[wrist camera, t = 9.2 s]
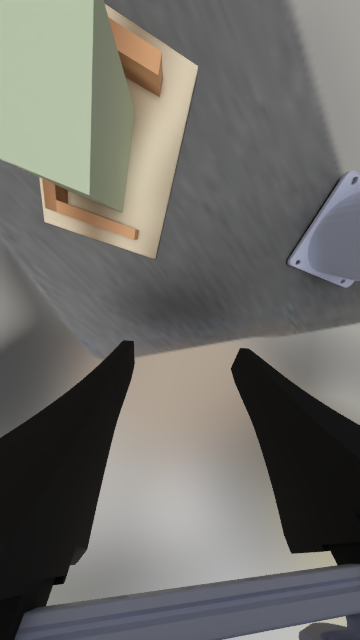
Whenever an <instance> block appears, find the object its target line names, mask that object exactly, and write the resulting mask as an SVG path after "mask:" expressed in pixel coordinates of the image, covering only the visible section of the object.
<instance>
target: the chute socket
mask: <svg viewBox="0 0 360 640" xmlns="http://www.w3.org/2000/svg"><path fill="white" fill-rule="evenodd" d="M105 7H106V11H107V14H108V18H109V21H110V25H111V28H112V32H113V35H114V39H115V43H116V46H117V50H118V53H119V57H120V60H121V64H122V67H123V71H124V75H125V78H126V82H127V85H128V89H129V92H130V96H131V99H132V103H133V107H134V110H135V114H134V122H133V131H132V140H131V148H130V157H129V165H128V174H127V183H126V191H125V200H124V208H123V213H122V212H119V211H117V210H114V209H112V208H109V207H107V206H104V205H102V204H99V203H97V202H95V201H92V200H90V199H87V198H85V197H82V196H80V195H77V194H75V193H72V192H70V191H68V190H66V189H64V188H62V187H59V186H57V185H55V184H53V183H51V182H49V181H46V180H44V179H42V178H40V177H39V178H40V187H41V195H42V204H43V212H44V221H45V222H46V223H49V224H52V225H55V226H58V227H61V228H64V229H67V230H70V231H73V232H76V233H79V234H82V235H85V236H88V237H91V238H94V239H97V240H100V241H103V242H106V243H109V244H112V245H115V246H118V247H121V248H123V249H126V250H129V251H132V252H135V253H138V254H141V255H144V256H147V257H150V258H153V259H156V254H157V250H158V245H159V241H160V236H161V232H162V227H163V223H164V218H165V214H166V210H167V205H168V201H169V196H170V192H171V187H172V183H173V178H174V174H175V169H176V165H177V161H178V156H179V152H180V147H181V143H182V138H183V134H184V129H185V125H186V120H187V116H188V112H189V107H190V103H191V98H192V94H193V89H194V85H195V80H196V76H197V70H198V66H197V65H195V64H194V63H192V62H191V61H189V60H188V59H186V58H185V57H183V56H182V55H180V54H179V53H177V52H176V51H174V50H173V49H171V48H170V47H168V46H167V45H165V44H164V43H162V42H161V41H159V40H158V39H156V38H155V37H153V36H152V35H150V34H149V33H147V32H146V31H144V30H143V29H141V28H140V27H138V26H137V25H135V24H134V23H132V22H131V21H129V20H128V19H126V18H125V17H123V16H122V15H121V14H119V13H118V12H116V11H115V10H113V9H112V8H110V7H109V6H107V5H106V4H105Z"/></svg>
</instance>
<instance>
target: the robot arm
mask: <svg viewBox="0 0 360 640" xmlns="http://www.w3.org/2000/svg"><path fill="white" fill-rule="evenodd" d="M352 179H353V182H352V184H351V181H352ZM297 260H298V262H297V263H296V261H297ZM288 264H289V265H290V266H293V267H295V268H298V269H300V270H303V271H305V272H308V273H310V274H312V275H315V276H317V277H320V278H322V279H325V280H327V281H329V282H332V283H334V284H337V285H339V286H342V287H345V288H347V287H349V286H351V285H352V284H353V282H354V281H359V282H360V174H359V173H358V172H356V171H355V170H352V171H349V172H347V173H345V174H344V175H343V176H342V178H341V179H340V181H339V183H338V184H337V186H336V187H335V189H334V190H333V192H332V193H331V195H330V196H329V198H328V199H327V201H326V202H325V204H324V206H323V207H322V209H321V210H320V212H319V213H318V215H317V216H316V218H315V219H314V221H313V222H312V224H311V225H310V227H309V228H308V230H307V232H306V233H305V235H304V236H303V238H302V239H301V241H300V242H299V244H298V245H297V247H296V248H295V250H294V251H293V253H292V255H291V256H290V258H289V259H288ZM134 363H135V362H134V341H126V340H124V341H122V342H121V343H120V344H119V345H118V347H117V348H116V349H115V350H114V351H113V352H112V353H111V354H110V355H109V356H108V357H107V358H106V359H105V360H104V361H103V362H101V364H100V365H98V367H96V368H95V369H94V370H93V371H92V372H91V373H89V374H88V375H87V376H86V377H85V378H84V379H83V380H81V381H80V382H79V383H78V384H77V385H75V386H74V387H73V388H71V389H70V390H69V391H68V392H66V393H65V394H64V395H63V396H61V397H60V398H58V399H57V400H56V401H54V402H53V403H52V404H50V405H49V406H47V407H46V408H45V409H43V410H42V411H40V412H39V413H38V414H36V415H35V416H33V417H32V418H30V419H29V420H27V421H26V422H24V423H23V424H21V425H20V426H18V427H17V428H15V429H14V430H12V431H10V432H9V433H7V434H6V435H4V436H3V437H1V438H0V640H222V639H227V638H232V637H238V636H243V635H249V634H253V633H259V632H264V631H269V630H275V629H280V628H285V627H290V626H296V625H301V624H306V623H311V622H316V621H322V620H327V619H332V618H338V617H343V616H346V619H347V627H345V626H340V625H335V624H329V623H313V624H310V625H309V626H308V627H306V628H305V629H303V630H302V631H300V632H299V640H360V425H358V424H356V423H355V422H353V421H351V420H350V419H348V418H346V417H344V416H343V415H341V414H339V413H337V412H336V411H334V410H333V409H331V408H330V407H328V406H326V405H325V404H323V403H322V402H320V401H319V400H317V399H315V398H314V397H312V396H311V395H310V394H308V393H307V392H305V391H304V390H302V389H301V388H299V387H298V386H297V385H295V384H294V383H292V382H291V381H290V380H288V379H287V378H285V377H284V376H283V375H282V374H281V373H279V372H278V371H277V370H275V369H274V368H273V367H272V366H270V365H269V364H268V363H267V362H265V361H264V360H263V359H262V358H260V357H259V356H258V355H256V354H255V353H254V352H252V351H251V350H250V349H246V348H240V350H239V352H238V354H237V356H236V358H235V361H234V363H233V365H232V367H231V371H232V374H233V378H234V381H235V384H236V386H237V389H238V391H239V393H240V396H241V398H242V400H243V402H244V405H245V407H246V409H247V411H248V414H249V416H250V418H251V421H252V423H253V426H254V429H255V432H256V435H257V437H258V440H259V443H260V447H261V450H262V453H263V456H264V460H265V463H266V466H267V469H268V473H269V477H270V480H271V484H272V488H273V491H274V495H275V499H276V503H277V507H278V511H279V515H280V519H281V524H282V528H283V533H284V536H285V539H286V541H287V544H288V546H289V549H290V551H291V553H292V554H293V553H308V552H323V551H331V553H332V555H333V557H334V559H335V561H336V563H337V566H330V567H323V568H316V569H309V570H301V571H294V572H287V573H280V574H273V575H266V576H259V577H251V578H244V579H237V580H230V581H223V582H216V583H209V584H201V585H195V586H187V587H180V588H173V589H166V590H159V591H152V592H144V593H138V594H130V595H123V596H116V597H109V598H102V599H94V600H87V601H81V602H74V603H67V604H59V605H51V606H46V604H47V601H48V598H49V595H50V592H51V589H52V586H53V585H58V584H64V582H65V579H66V576H67V573H68V570H69V566H70V565H75V564H76V563H77V562H78V561H79V559H80V558H81V557H82V555H83V554H84V553H85V551H86V550H87V548H88V543H89V538H90V534H91V529H92V524H93V520H94V515H95V511H96V506H97V501H98V497H99V493H100V489H101V484H102V480H103V475H104V471H105V467H106V463H107V459H108V455H109V450H110V446H111V442H112V438H113V434H114V430H115V427H116V423H117V420H118V417H119V414H120V411H121V408H122V405H123V402H124V399H125V396H126V393H127V390H128V387H129V384H130V381H131V378H132V373H133V369H134Z"/></svg>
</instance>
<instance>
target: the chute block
mask: <svg viewBox="0 0 360 640" xmlns="http://www.w3.org/2000/svg"><path fill="white" fill-rule="evenodd" d="M134 114H135V110H134V107H133V103H132V99H131V96H130V92H129V89H128V85H127V82H126V78H125V75H124V71H123V67H122V64H121V60H120V57H119V53H118V50H117V46H116V43H115V39H114V35H113V32H112V28H111V25H110V21H109V18H108V14H107V11H106V7H105V3H104V0H0V159H1V160H3V161H5V162H8V163H10V164H12V165H14V166H16V167H18V168H21V169H23V170H25V171H27V172H29V173H31V174H33V175H36V176H38V177H40V178H42V179H44V180H46V181H49V182H51V183H53V184H55V185H57V186H59V187H62V188H64V189H66V190H68V191H70V192H72V193H75V194H77V195H80V196H82V197H85V198H87V199H90V200H92V201H95V202H97V203H99V204H102V205H104V206H107V207H109V208H112V209H114V210H117V211H119V212H122V213H123V208H124V200H125V191H126V183H127V174H128V165H129V157H130V148H131V140H132V131H133V122H134Z"/></svg>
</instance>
